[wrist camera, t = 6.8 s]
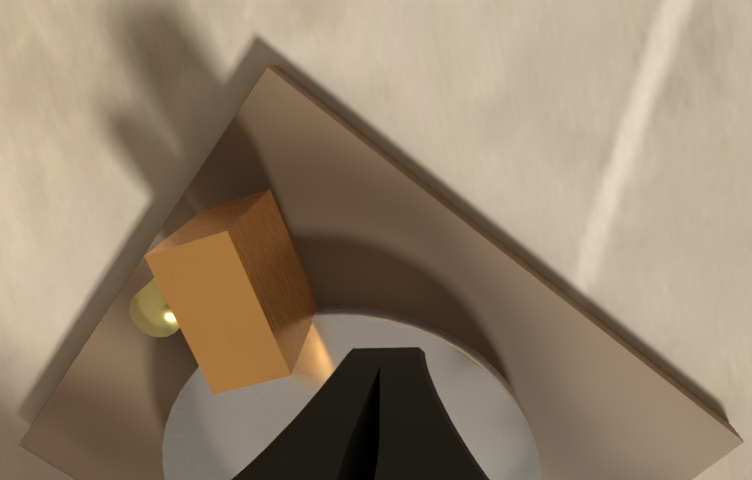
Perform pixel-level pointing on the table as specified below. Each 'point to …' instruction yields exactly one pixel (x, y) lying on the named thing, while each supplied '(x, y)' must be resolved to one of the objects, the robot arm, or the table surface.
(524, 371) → the flat brown board
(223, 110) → the table surface
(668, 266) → the table surface
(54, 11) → the table surface
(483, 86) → the table surface
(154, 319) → the dowel
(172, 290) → the disc with block handle
